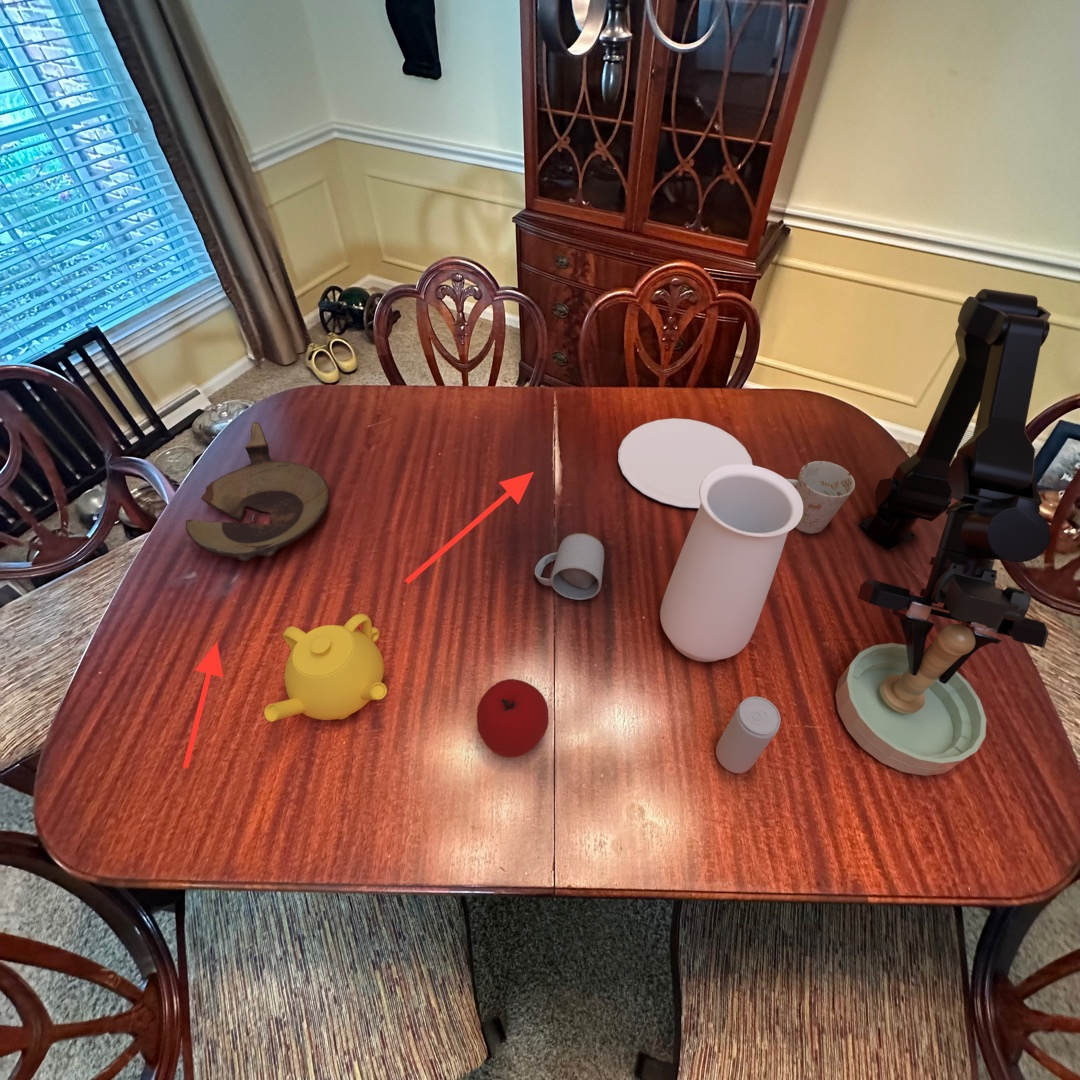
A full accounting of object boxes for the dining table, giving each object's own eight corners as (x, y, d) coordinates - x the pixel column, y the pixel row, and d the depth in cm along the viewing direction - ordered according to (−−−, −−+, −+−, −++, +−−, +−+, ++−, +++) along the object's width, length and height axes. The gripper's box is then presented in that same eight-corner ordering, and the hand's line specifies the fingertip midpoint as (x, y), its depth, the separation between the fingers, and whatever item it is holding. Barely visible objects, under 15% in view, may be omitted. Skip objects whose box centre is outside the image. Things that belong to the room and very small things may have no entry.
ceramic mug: (604, 562, 97) (607, 530, 91) (599, 603, 92) (602, 572, 86) (539, 555, 98) (538, 523, 93) (531, 595, 93) (529, 563, 87)
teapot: (285, 748, 77) (254, 710, 69) (289, 657, 86) (262, 613, 77) (398, 724, 79) (382, 684, 71) (391, 638, 88) (376, 593, 80)
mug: (834, 542, 100) (858, 499, 92) (757, 531, 102) (774, 488, 94) (829, 507, 105) (851, 464, 98) (755, 497, 107) (772, 454, 99)
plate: (733, 421, 121) (735, 416, 120) (768, 510, 105) (771, 505, 104) (610, 423, 121) (610, 418, 120) (626, 513, 104) (627, 508, 103)
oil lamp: (172, 575, 96) (148, 543, 90) (246, 451, 115) (231, 419, 110) (309, 583, 95) (294, 552, 89) (360, 457, 114) (351, 425, 108)
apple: (542, 772, 75) (542, 740, 68) (471, 760, 76) (464, 727, 69) (553, 704, 81) (554, 667, 74) (487, 694, 82) (482, 657, 75)
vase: (693, 687, 83) (745, 558, 62) (639, 618, 90) (669, 481, 69) (764, 647, 87) (836, 514, 66) (707, 584, 94) (755, 446, 73)
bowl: (894, 645, 87) (910, 626, 83) (992, 744, 77) (1016, 727, 74) (807, 689, 82) (820, 671, 79) (900, 800, 73) (920, 785, 69)
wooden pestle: (887, 670, 82) (946, 604, 70) (927, 693, 80) (995, 628, 68) (874, 698, 79) (933, 634, 67) (914, 722, 77) (983, 660, 65)
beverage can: (710, 739, 78) (732, 696, 69) (746, 736, 78) (773, 693, 69) (720, 776, 75) (745, 737, 66) (758, 773, 75) (788, 733, 66)
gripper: (905, 538, 66) (865, 673, 67) (1100, 583, 62) (1052, 725, 63) (874, 535, 77) (840, 651, 78) (1038, 572, 73) (999, 694, 74)
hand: (927, 678), depth 73 cm, fingers closed on wooden pestle, 3 cm apart
